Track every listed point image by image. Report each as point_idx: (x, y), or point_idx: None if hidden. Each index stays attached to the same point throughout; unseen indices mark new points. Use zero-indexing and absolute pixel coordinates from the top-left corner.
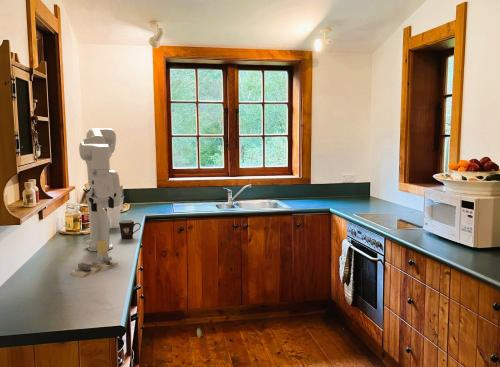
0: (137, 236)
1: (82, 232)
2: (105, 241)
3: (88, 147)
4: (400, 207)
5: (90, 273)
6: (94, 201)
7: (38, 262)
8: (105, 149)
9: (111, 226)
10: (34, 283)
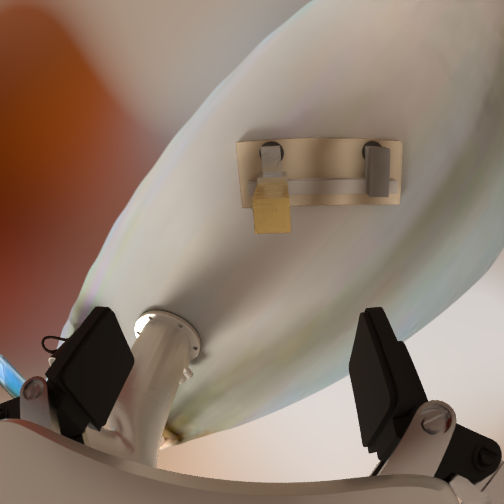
0: (63, 331)
1: None
2: (261, 198)
3: None
4: None
5: (368, 139)
6: (437, 426)
7: (346, 357)
8: None
9: None
10: (473, 222)
